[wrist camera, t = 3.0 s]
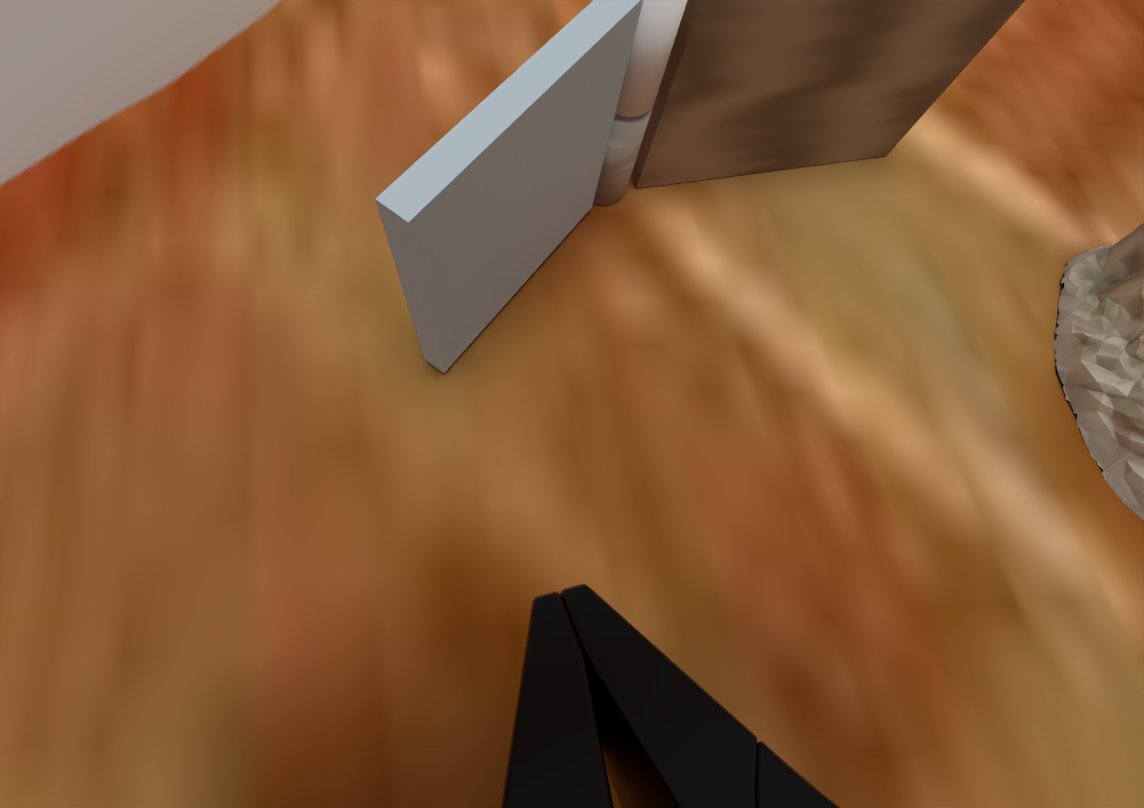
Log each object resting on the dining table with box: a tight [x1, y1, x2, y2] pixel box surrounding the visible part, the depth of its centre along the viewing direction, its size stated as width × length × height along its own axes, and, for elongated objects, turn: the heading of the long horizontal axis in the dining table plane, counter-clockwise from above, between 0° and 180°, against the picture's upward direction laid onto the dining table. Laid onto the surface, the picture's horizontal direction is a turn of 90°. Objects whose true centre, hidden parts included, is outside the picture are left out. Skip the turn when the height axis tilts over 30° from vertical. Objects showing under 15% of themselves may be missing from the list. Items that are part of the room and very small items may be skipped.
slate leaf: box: [376, 0, 687, 373], centre depth 20 cm, size 13×2×10 cm, turn 144°
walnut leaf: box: [593, 0, 1025, 206], centre depth 23 cm, size 17×2×10 cm, turn 104°
